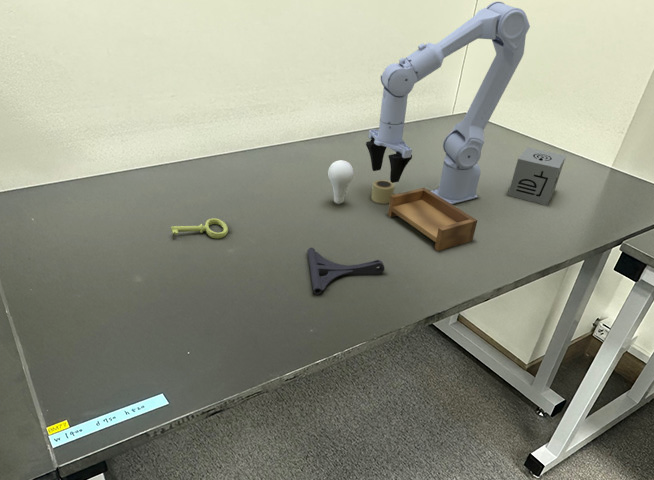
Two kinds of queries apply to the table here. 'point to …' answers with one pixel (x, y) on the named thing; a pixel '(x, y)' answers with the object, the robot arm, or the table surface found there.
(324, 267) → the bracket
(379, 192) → the tape roll
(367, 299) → the table surface
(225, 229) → the key
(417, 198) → the shelf
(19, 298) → the table surface
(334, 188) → the lightbulb
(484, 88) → the robot arm
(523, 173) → the icon cube
